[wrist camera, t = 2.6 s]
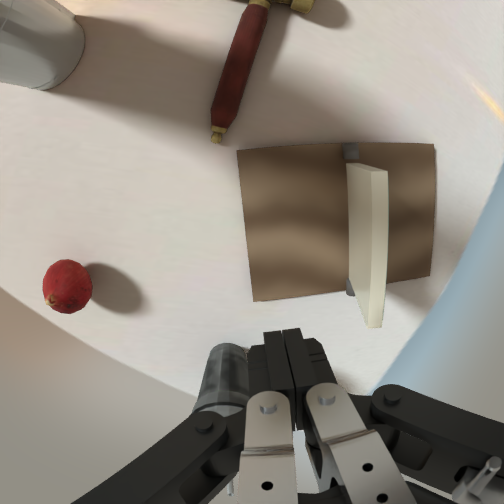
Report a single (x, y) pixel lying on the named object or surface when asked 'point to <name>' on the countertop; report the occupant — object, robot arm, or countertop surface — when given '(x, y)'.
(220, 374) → the beverage cup
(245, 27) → the gavel
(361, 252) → the tile
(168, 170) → the countertop surface
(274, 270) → the walnut board
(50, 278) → the onion
